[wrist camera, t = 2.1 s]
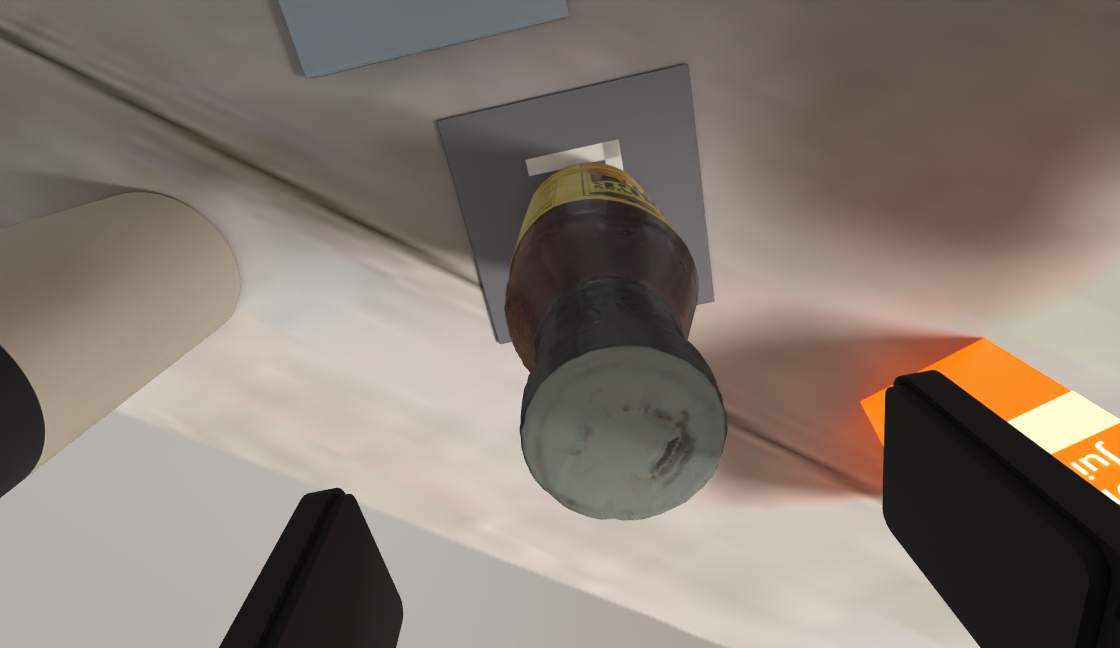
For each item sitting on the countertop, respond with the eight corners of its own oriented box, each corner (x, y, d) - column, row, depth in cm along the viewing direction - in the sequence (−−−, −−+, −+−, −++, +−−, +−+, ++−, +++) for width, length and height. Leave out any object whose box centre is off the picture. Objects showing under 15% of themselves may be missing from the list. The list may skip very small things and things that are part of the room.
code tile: (687, 63, 27) (688, 63, 26) (713, 299, 31) (714, 301, 31) (437, 121, 27) (436, 121, 27) (499, 342, 32) (499, 344, 32)
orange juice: (908, 498, 37) (1255, 912, 19) (857, 401, 34) (1211, 781, 16) (1029, 442, 36) (1538, 834, 17) (987, 334, 33) (1549, 672, 14)
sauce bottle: (671, 231, 30) (866, 488, 11) (573, 300, 31) (607, 625, 13) (598, 124, 27) (693, 229, 9) (496, 203, 29) (405, 428, 11)
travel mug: (105, 160, 28) (-533, 287, 11) (265, 240, 30) (-90, 452, 13) (69, 292, 31) (-489, 551, 14) (217, 359, 32) (-127, 658, 16)
